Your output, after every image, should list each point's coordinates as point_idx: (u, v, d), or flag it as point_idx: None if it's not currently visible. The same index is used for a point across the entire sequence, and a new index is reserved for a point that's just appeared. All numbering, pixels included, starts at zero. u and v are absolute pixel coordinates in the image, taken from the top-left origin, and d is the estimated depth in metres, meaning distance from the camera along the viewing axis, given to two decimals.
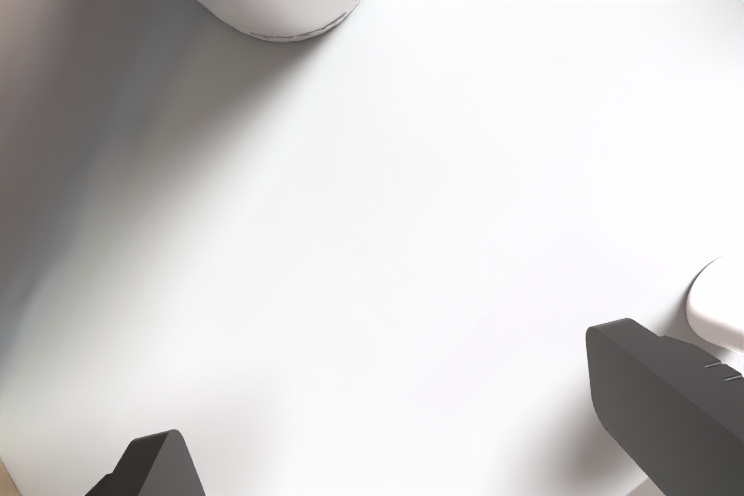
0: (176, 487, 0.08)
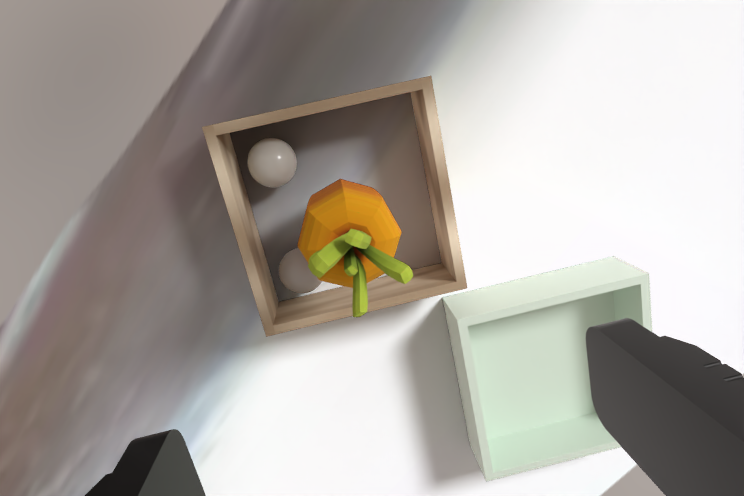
0: (176, 487, 0.08)
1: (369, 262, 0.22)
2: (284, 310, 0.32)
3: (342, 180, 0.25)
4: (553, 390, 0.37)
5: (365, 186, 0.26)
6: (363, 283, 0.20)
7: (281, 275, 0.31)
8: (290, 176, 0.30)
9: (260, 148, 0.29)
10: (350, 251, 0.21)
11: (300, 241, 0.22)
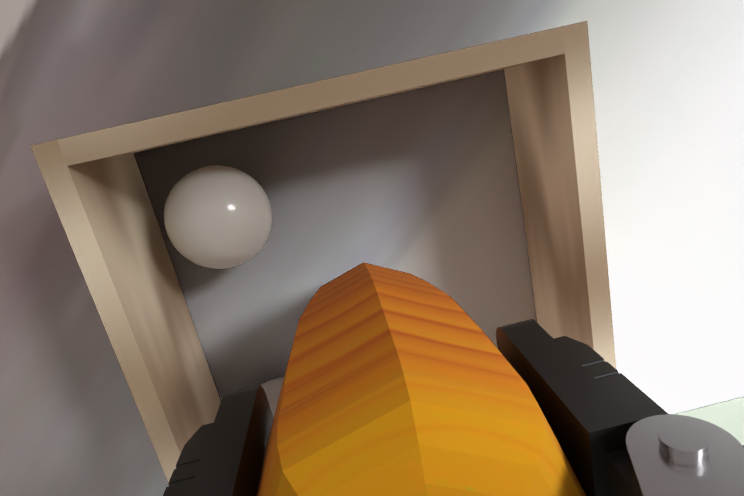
0: (266, 437, 0.09)
1: None
2: None
3: (380, 290, 0.09)
4: None
5: (440, 302, 0.10)
6: None
7: None
8: (257, 247, 0.14)
9: (187, 190, 0.13)
10: None
11: None
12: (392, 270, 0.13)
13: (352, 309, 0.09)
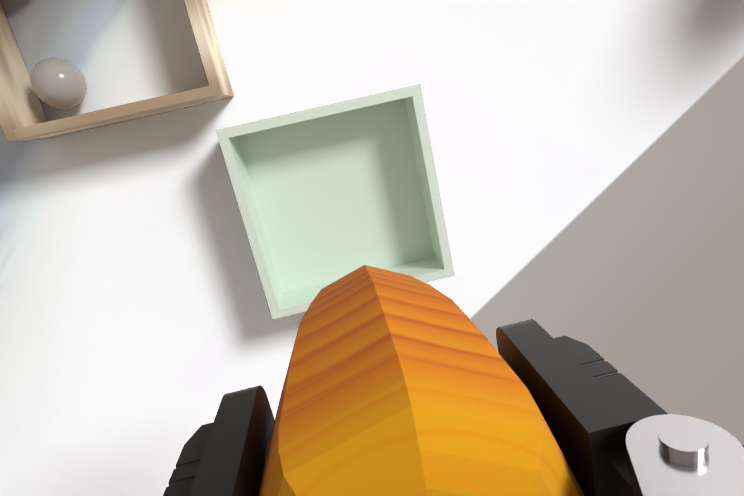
0: (266, 437, 0.09)
1: None
2: None
3: (381, 293, 0.09)
4: (357, 236, 0.36)
5: (440, 305, 0.10)
6: None
7: None
8: None
9: None
10: None
11: None
12: (393, 272, 0.13)
13: (353, 312, 0.09)
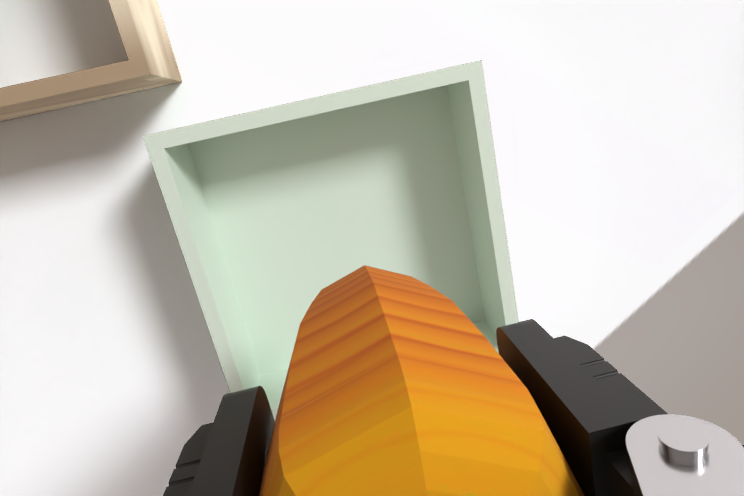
0: (266, 437, 0.09)
1: None
2: None
3: (381, 294, 0.09)
4: None
5: (440, 306, 0.10)
6: None
7: None
8: None
9: None
10: None
11: None
12: (393, 273, 0.13)
13: (353, 313, 0.09)
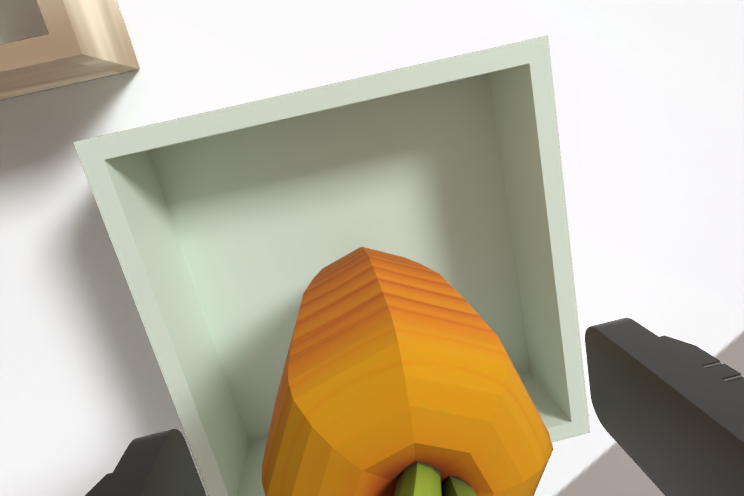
0: (177, 487, 0.08)
1: None
2: None
3: (376, 265, 0.11)
4: None
5: (428, 276, 0.11)
6: None
7: None
8: None
9: None
10: None
11: (268, 473, 0.08)
12: (387, 253, 0.14)
13: (351, 280, 0.10)
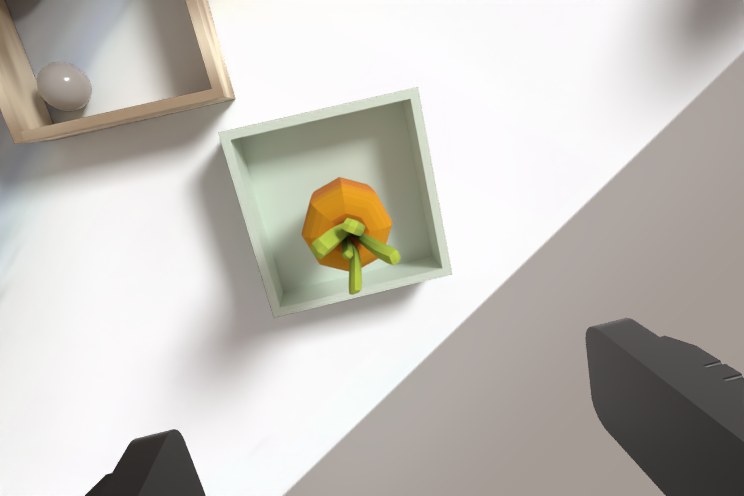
0: (176, 487, 0.08)
1: (364, 248, 0.25)
2: None
3: (341, 178, 0.28)
4: None
5: (361, 183, 0.29)
6: (357, 265, 0.23)
7: (37, 86, 0.30)
8: None
9: None
10: (347, 238, 0.24)
11: (304, 230, 0.25)
12: None
13: (331, 182, 0.28)
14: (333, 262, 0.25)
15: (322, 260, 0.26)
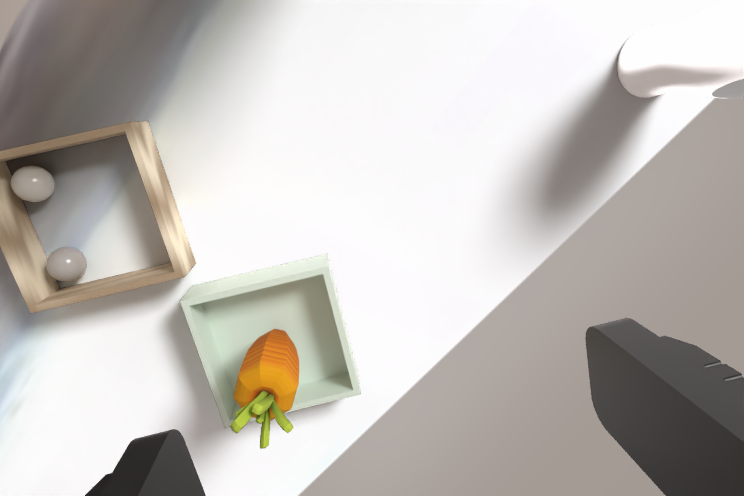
0: (176, 487, 0.08)
1: None
2: (54, 294, 0.42)
3: (266, 343, 0.39)
4: None
5: (282, 346, 0.40)
6: (266, 428, 0.34)
7: None
8: (44, 194, 0.40)
9: (16, 173, 0.39)
10: None
11: (234, 393, 0.36)
12: (279, 332, 0.43)
13: (259, 348, 0.39)
14: (255, 416, 0.36)
15: None
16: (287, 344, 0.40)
